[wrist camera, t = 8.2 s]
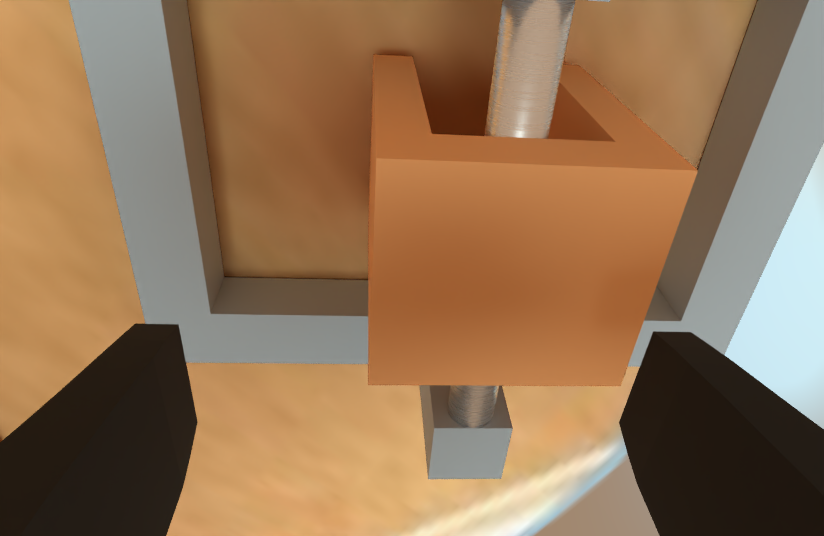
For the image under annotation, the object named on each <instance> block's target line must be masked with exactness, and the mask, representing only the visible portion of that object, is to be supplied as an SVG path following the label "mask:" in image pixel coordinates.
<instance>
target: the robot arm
mask: <svg viewBox="0 0 824 536" xmlns="http://www.w3.org/2000/svg"><path fill="white" fill-rule="evenodd" d="M619 424H620V427H621V431H622V435H623V438H624V442H625V445H626V449H627V453H628V456H629V459H630V463H631V465H632V469H633V472H634V475H635V478H636V482H637V484H638V487H639V489H640V491H641V494H642V496H643V498H644V501H645V503H646V505H647V507H648V510H649V512H650V515H651V517H652V519H653V521H654V524H655V526H656V528H657V531H658V533H659V535H660V536H824V429H822V428H821V427H819V426H818V425H817V424H815V423H814V422H813V421H811V420H810V419H809V418H807V417H806V416H805V415H803V414H802V413H801V412H799V411H798V410H797V409H795V408H794V407H792V406H791V405H790V404H789V403H787V402H786V401H785V400H783V399H782V398H780V397H779V396H778V395H777V394H775V393H774V392H773V391H771V390H770V389H769V388H767V387H766V386H764V385H763V384H762V383H761V382H759V381H758V380H757V379H755V378H754V377H753V376H751V375H750V374H749V373H747V372H746V371H745V370H743V369H742V368H741V367H739V366H738V365H737V364H735V363H734V362H733V361H731V360H730V359H729V358H727V357H726V356H725V355H723V354H722V353H720V352H719V351H718V350H716V349H715V348H714V347H712V346H711V345H709V344H708V343H706V342H705V341H704V340H702V339H700V338H699V337H697V336H696V335H694V334H693V333H691V332H657V331H653V333H652V336H651V339H650V341H649V344H648V347H647V349H646V352H645V355H644V357H643V360H642V363H641V365H640V368H639V371H638V373H637V376H636V379H635V381H634V384H633V387H632V389H631V392H630V395H629V398H628V400H627V403H626V406H625V408H624V411H623V414H622V416H621V419H620V422H619ZM196 426H197V418H196V412H195V407H194V402H193V397H192V392H191V386H190V381H189V376H188V371H187V366H186V361H185V355H184V350H183V345H182V340H181V335H180V329H179V324H135V325H133V326H132V327H131V328H130V329H129V330H128V331H126V332H125V333H124V334H123V335H122V336H121V337H120V338H119V339H117V340H116V341H115V342H114V343H113V344H112V345H111V346H110V347H108V348H107V349H106V350H105V351H104V352H103V353H102V354H101V355H99V356H98V357H97V358H96V359H95V360H94V361H93V362H92V363H91V364H89V365H88V366H87V367H86V368H85V369H84V370H83V371H82V372H81V373H79V374H78V375H77V376H76V377H75V378H74V379H73V380H72V381H71V382H69V383H68V384H67V385H66V386H65V387H64V388H63V389H62V390H60V391H59V392H58V393H57V394H56V395H55V396H54V397H53V398H51V399H50V400H49V401H48V402H47V403H46V404H44V405H43V406H42V407H41V408H40V409H39V410H38V411H36V412H35V413H34V414H33V415H32V416H31V417H29V418H28V419H27V420H26V421H25V422H24V423H23V424H21V425H20V426H19V427H18V428H17V429H16V430H14V431H13V432H12V433H11V434H10V435H9V436H7V437H6V438H5V439H4V440H2V441H1V442H0V536H166V534H167V532H168V529H169V526H170V523H171V520H172V517H173V514H174V512H175V509H176V506H177V503H178V500H179V497H180V494H181V491H182V488H183V485H184V480H185V476H186V472H187V468H188V463H189V459H190V454H191V450H192V445H193V440H194V435H195V431H196Z"/></svg>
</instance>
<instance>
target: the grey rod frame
mask: <svg viewBox="0 0 824 536" xmlns="http://www.w3.org/2000/svg"><path fill="white" fill-rule="evenodd" d="M590 1H606V2H610V0H590ZM69 3H70V7H71V12H72V16H73V20H74V24H75V28H76V33H77V37H78V41H79V45H80V49H81V54H82V58H83V62H84V66H85V71H86V75H87V79H88V83H89V87H90V92H91V96H92V100H93V104H94V108H95V113H96V117H97V121H98V125H99V129H100V134H101V138H102V142H103V146H104V151H105V155H106V159H107V163H108V167H109V172H110V176H111V180H112V184H113V188H114V193H115V197H116V201H117V205H118V210H119V214H120V218H121V222H122V226H123V231H124V235H125V239H126V243H127V247H128V252H129V256H130V260H131V264H132V268H133V273H134V277H135V281H136V285H137V290H138V294H139V298H140V302H141V306H142V311H143V315H144V319H145V323H146V324H179V329H180V335H181V340H182V345H183V350H184V355H185V361H186V362H192V363H305V364H368V280H341V279H292V278H242V277H224V271H223V263H222V256H221V249H220V241H219V234H218V227H217V219H216V212H215V204H214V197H213V190H212V182H211V175H210V168H209V160H208V153H207V146H206V138H205V131H204V124H203V116H202V109H201V102H200V94H199V87H198V80H197V72H196V65H195V58H194V50H193V43H192V36H191V28H190V21H189V13H188V6H187V0H69ZM574 5H575V0H503V2H502V9H501V16H500V24H499V31H498V39H497V46H496V53H495V61H494V68H493V75H492V83H491V90H490V98H489V105H488V112H487V120H486V127H485V135H484V136H493V137H516V138H540V139H548V136H549V131H550V126H551V121H552V116H553V111H554V106H555V101H556V96H557V91H558V86H559V81H560V75H561V70H562V65H563V60H564V55H565V50H566V45H567V40H568V35H569V30H570V25H571V20H572V15H573V10H574ZM823 143H824V0H758V1H757V4H756V7H755V10H754V12H753V15H752V18H751V21H750V24H749V27H748V29H747V32H746V35H745V38H744V41H743V43H742V46H741V49H740V52H739V55H738V58H737V60H736V63H735V66H734V69H733V72H732V74H731V77H730V80H729V83H728V86H727V89H726V91H725V94H724V97H723V100H722V103H721V105H720V108H719V111H718V114H717V117H716V120H715V122H714V125H713V128H712V131H711V134H710V136H709V139H708V142H707V145H706V148H705V151H704V153H703V156H702V159H701V162H700V165H699V168H698V172H697V175H696V178H695V181H694V183H693V186H692V189H691V192H690V195H689V197H688V200H687V203H686V206H685V208H684V211H683V214H682V217H681V220H680V222H679V225H678V228H677V231H676V233H675V236H674V239H673V242H672V244H671V247H670V250H669V253H668V256H667V258H666V261H665V264H664V267H663V269H662V272H661V275H660V278H659V281H658V283H657V286H656V289H655V292H654V294H653V297H652V300H651V303H650V306H649V308H648V311H647V314H646V317H645V319H644V322H643V325H642V328H641V330H640V333H639V336H638V339H637V342H636V344H635V347H634V350H633V353H632V355H631V358H630V361H629V364H628V366H640V365H641V363H642V360H643V357H644V355H645V352H646V349H647V347H648V344H649V341H650V339H651V336H652V333H653V331H657V332H691V333H693V334H694V335H696V336H697V337H699V338H700V339H702V340H704V341H705V342H706V343H708V344H709V345H711V346H712V347H714V348H715V349H716V350H718V351H719V352H720V353H722V354H723V355H724V354H725V352H726V350H727V347H728V345H729V343H730V341H731V339H732V337H733V335H734V332H735V330H736V328H737V326H738V324H739V322H740V320H741V318H742V316H743V313H744V311H745V309H746V307H747V305H748V303H749V300H750V298H751V296H752V294H753V292H754V290H755V288H756V286H757V284H758V281H759V279H760V277H761V275H762V273H763V271H764V268H765V266H766V264H767V262H768V260H769V258H770V256H771V254H772V251H773V249H774V247H775V245H776V243H777V241H778V239H779V237H780V234H781V232H782V230H783V228H784V226H785V224H786V222H787V219H788V217H789V215H790V213H791V211H792V209H793V207H794V205H795V202H796V200H797V198H798V196H799V193H800V192H801V190H802V187H803V185H804V183H805V181H806V179H807V177H808V174H809V172H810V170H811V168H812V166H813V164H814V162H815V160H816V158H817V155H818V153H819V151H820V149H821V147H822V145H823ZM420 396H421V406H422V417H423V428H424V439H425V450H426V461H427V472H428V479H501V477H502V473H503V468H504V464H505V460H506V455H507V451H508V446H509V442H510V438H511V433H512V429H513V428H512V424H511V420H510V416H509V412H508V408H507V404H506V400H505V396H504V393H503V389H502V386H472V385H420Z"/></svg>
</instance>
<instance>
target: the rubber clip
mask: <svg viewBox="0 0 824 536" xmlns="http://www.w3.org/2000/svg"><path fill="white" fill-rule="evenodd" d="M697 172H698V170H697V169H696V168H694V167H693V166H692V165H691V164H690V163H689V162H688V161H687V160H685V159H684V158H683V157H682V156H681V155H680V154H679V153H677V152H676V151H675V150H674V149H673V148H672V147H671V146H670V145H668V144H667V143H666V142H665V141H664V140H663V139H662V138H661V137H659V136H658V135H657V134H656V133H655V132H654V131H653V130H651V129H650V128H649V127H648V126H647V125H646V124H645V123H644V122H642V121H641V120H640V119H639V118H638V117H637V116H636V115H635V114H633V113H632V112H631V111H630V110H629V109H628V108H627V107H625V106H624V105H623V104H622V103H621V102H620V101H619V100H618V99H616V98H615V97H614V96H613V95H612V94H611V93H610V92H609V91H607V90H606V89H605V88H604V87H603V86H602V85H601V84H599V83H598V82H597V81H596V80H595V79H594V78H593V77H592V76H590V75H589V74H588V73H587V72H586V71H585V70H584V69H583V68H581V67H580V66H578V65H562V70H561V75H560V81H559V86H558V91H557V96H556V101H555V106H554V111H553V116H552V121H551V126H550V131H549V136H548V139H540V138H516V137H493V136H469V135H446V134H432V133H431V129H430V125H429V121H428V117H427V113H426V109H425V104H424V100H423V96H422V92H421V88H420V84H419V80H418V76H417V72H416V68H415V64H414V60H413V57H412V56H393V55H375V54H374V56H373V89H372V122H371V155H370V188H369V221H368V385H472V386H621V383H622V380H623V378H624V375H625V372H626V369H627V367H628V364H629V361H630V358H631V355H632V353H633V350H634V347H635V344H636V342H637V339H638V336H639V333H640V330H641V328H642V325H643V322H644V319H645V317H646V314H647V311H648V308H649V306H650V303H651V300H652V297H653V294H654V292H655V289H656V286H657V283H658V281H659V278H660V275H661V272H662V269H663V267H664V264H665V261H666V258H667V256H668V253H669V250H670V247H671V244H672V242H673V239H674V236H675V233H676V231H677V228H678V225H679V222H680V220H681V217H682V214H683V211H684V208H685V206H686V203H687V200H688V197H689V195H690V192H691V189H692V186H693V183H694V181H695V178H696V175H697Z"/></svg>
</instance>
